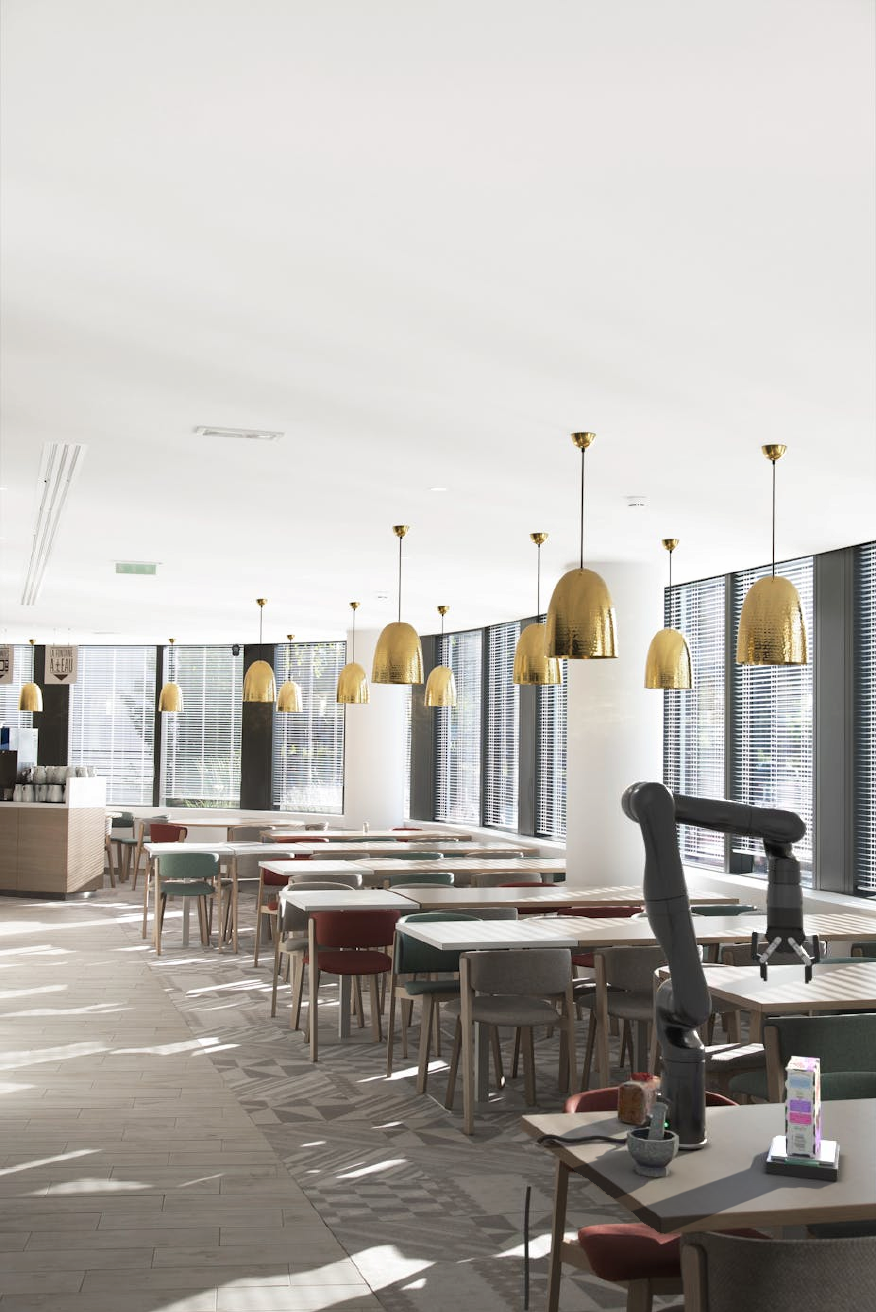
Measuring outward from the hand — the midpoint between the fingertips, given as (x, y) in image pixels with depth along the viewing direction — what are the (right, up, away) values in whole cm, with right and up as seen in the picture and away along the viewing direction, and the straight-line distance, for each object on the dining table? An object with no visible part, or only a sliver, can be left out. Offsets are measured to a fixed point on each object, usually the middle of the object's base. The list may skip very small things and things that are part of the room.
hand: (786, 982), depth 267 cm
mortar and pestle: (-33, -30, -26) cm, 51 cm away
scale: (-2, -31, -20) cm, 37 cm away
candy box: (-2, -28, -19) cm, 34 cm away
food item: (-28, -34, +13) cm, 46 cm away
